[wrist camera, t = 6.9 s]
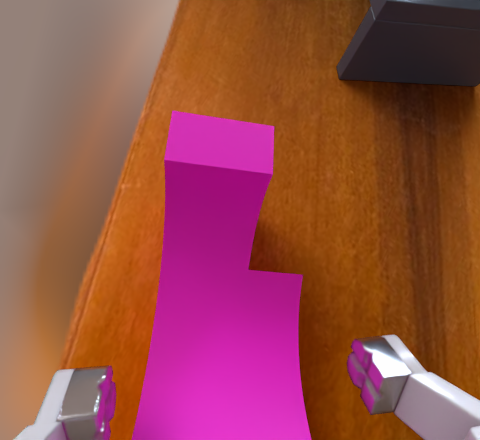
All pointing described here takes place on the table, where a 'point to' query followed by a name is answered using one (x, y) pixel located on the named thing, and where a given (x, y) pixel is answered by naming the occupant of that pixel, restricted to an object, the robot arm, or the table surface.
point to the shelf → (416, 43)
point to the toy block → (220, 297)
